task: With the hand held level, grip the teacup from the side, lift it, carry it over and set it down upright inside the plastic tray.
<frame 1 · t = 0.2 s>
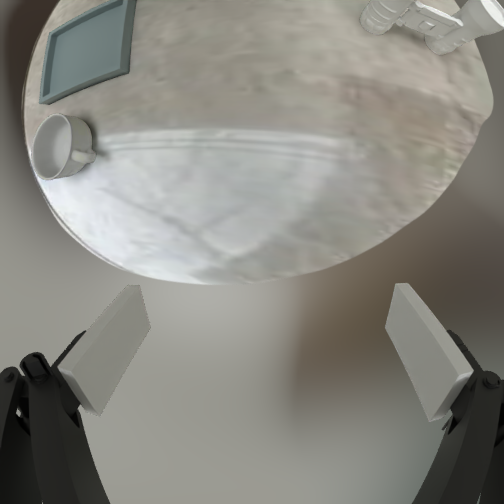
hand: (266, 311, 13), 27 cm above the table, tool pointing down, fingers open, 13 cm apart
teacup: (84, 148, 38), on the table
binoculars: (405, 33, 26), on the table
tray: (87, 50, 31), on the table
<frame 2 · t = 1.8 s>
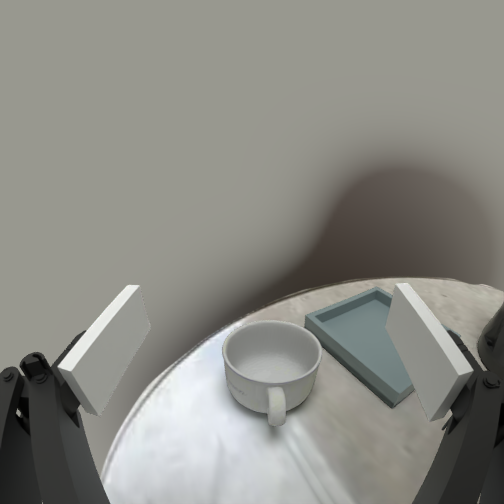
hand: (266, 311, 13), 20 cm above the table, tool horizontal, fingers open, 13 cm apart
teacup: (270, 401, 30), on the table
tray: (382, 342, 37), on the table
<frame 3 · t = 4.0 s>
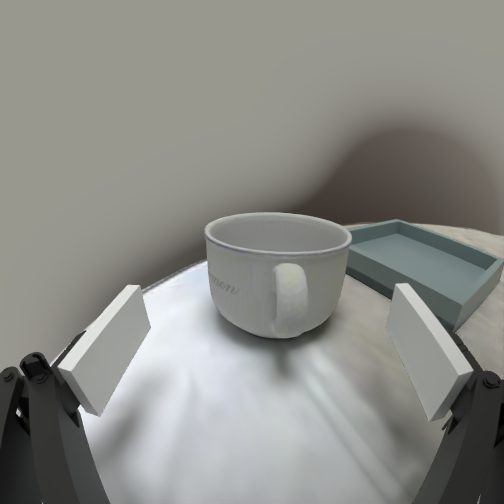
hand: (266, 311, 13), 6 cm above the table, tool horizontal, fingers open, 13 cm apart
teacup: (276, 328, 21), on the table
tray: (416, 270, 29), on the table
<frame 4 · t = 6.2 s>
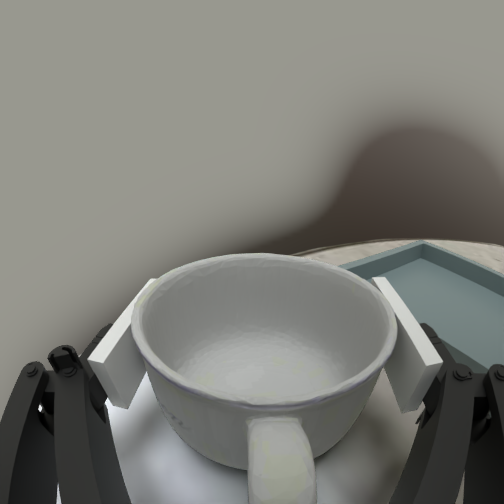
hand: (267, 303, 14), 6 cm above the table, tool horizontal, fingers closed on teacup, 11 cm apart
teacup: (262, 433, 12), on the table, touching gripper
tray: (451, 314, 20), on the table
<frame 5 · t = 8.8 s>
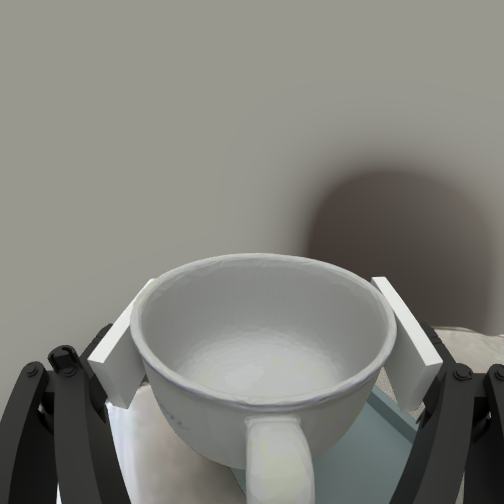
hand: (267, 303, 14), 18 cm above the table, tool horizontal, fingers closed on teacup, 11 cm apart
teacup: (261, 433, 12), point 12 cm above the table, touching gripper
tray: (331, 464, 19), on the table
when the fingers open (9 cm above the table, at t = 11.6 s): teacup drops 2 cm, resting on tray.
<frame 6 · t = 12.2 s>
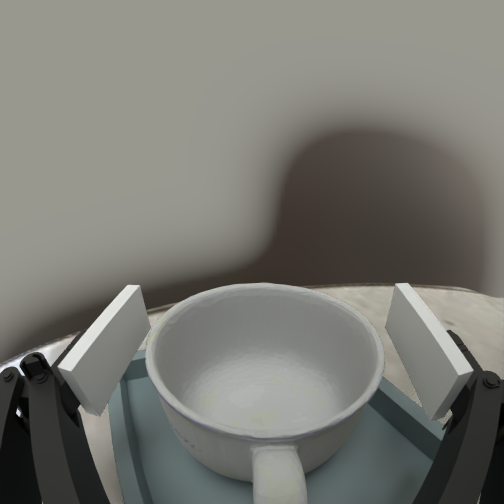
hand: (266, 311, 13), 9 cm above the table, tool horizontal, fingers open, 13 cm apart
teacup: (263, 446, 13), point 1 cm above the table, touching tray
tray: (265, 452, 13), on the table
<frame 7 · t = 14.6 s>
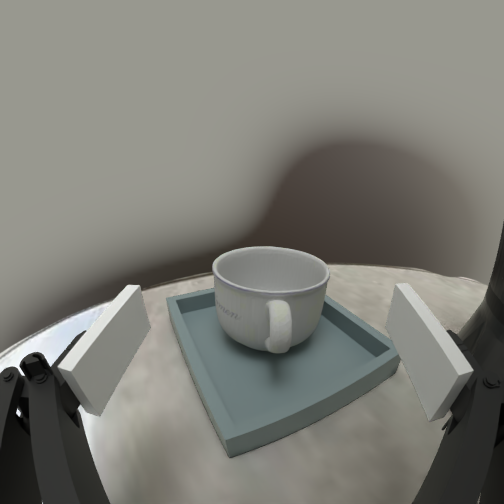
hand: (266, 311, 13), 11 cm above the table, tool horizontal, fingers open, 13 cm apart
teacup: (269, 342, 26), point 1 cm above the table, touching tray
tray: (270, 348, 27), on the table
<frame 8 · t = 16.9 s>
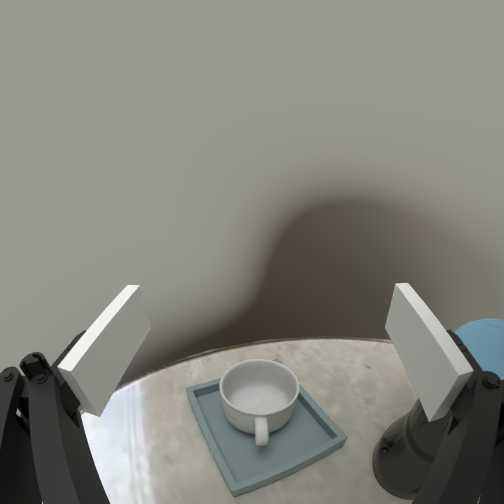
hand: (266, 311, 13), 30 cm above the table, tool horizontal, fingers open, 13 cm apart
teacup: (258, 423, 35), point 1 cm above the table, touching tray
tray: (259, 425, 35), on the table
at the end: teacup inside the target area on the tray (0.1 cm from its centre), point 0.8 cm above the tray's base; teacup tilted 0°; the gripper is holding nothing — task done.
